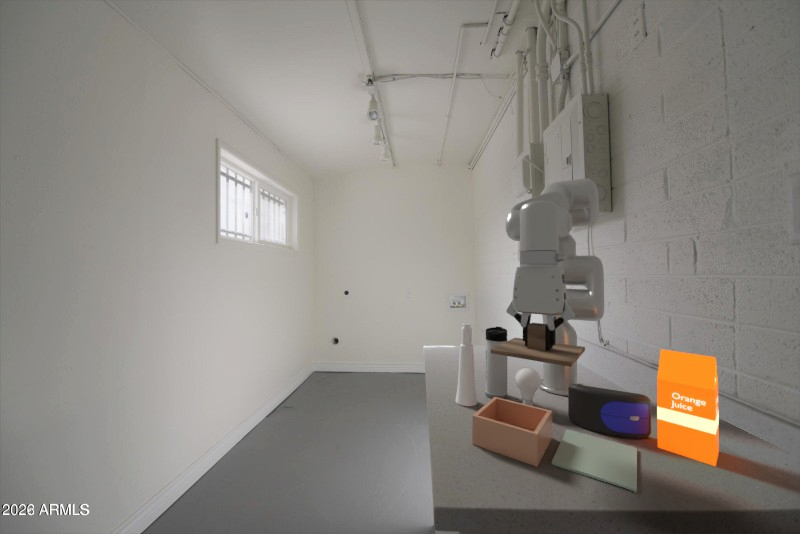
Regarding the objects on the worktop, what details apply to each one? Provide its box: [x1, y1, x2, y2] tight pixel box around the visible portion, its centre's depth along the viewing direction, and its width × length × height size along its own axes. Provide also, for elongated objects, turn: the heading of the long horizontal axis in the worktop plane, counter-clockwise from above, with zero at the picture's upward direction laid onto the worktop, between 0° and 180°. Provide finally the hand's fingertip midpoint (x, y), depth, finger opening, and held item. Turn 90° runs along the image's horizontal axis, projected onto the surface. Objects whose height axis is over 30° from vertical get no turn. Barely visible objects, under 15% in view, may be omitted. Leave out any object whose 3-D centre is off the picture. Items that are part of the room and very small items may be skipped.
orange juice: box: [656, 348, 720, 467], centre depth 66 cm, size 8×9×20 cm
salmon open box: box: [471, 397, 553, 467], centre depth 69 cm, size 13×13×6 cm
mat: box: [551, 429, 638, 493], centre depth 63 cm, size 16×13×1 cm
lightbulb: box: [514, 366, 542, 406], centre depth 85 cm, size 6×6×11 cm
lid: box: [491, 322, 586, 367], centre depth 67 cm, size 15×15×6 cm
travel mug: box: [484, 326, 508, 399], centre depth 94 cm, size 6×7×20 cm
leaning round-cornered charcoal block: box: [567, 383, 652, 440], centre depth 73 cm, size 16×5×9 cm, turn 61°
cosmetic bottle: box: [455, 322, 478, 407], centre depth 89 cm, size 6×6×22 cm
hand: (538, 345), depth 67 cm, fingers closed on lid, 3 cm apart
